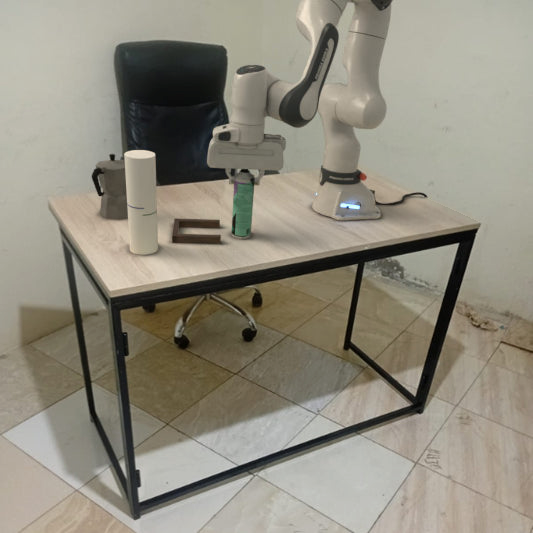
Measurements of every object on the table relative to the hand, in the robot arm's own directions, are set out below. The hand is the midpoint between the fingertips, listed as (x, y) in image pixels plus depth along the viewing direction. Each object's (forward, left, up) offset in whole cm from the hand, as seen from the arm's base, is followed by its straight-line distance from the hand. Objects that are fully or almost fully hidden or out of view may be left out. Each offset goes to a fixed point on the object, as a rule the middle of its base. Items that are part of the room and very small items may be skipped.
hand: (243, 184), depth 136 cm
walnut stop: (+13, 0, -15) cm, 20 cm away
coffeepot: (+37, -12, -15) cm, 42 cm away
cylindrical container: (+26, +10, -15) cm, 32 cm away
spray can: (0, 0, -15) cm, 15 cm away
